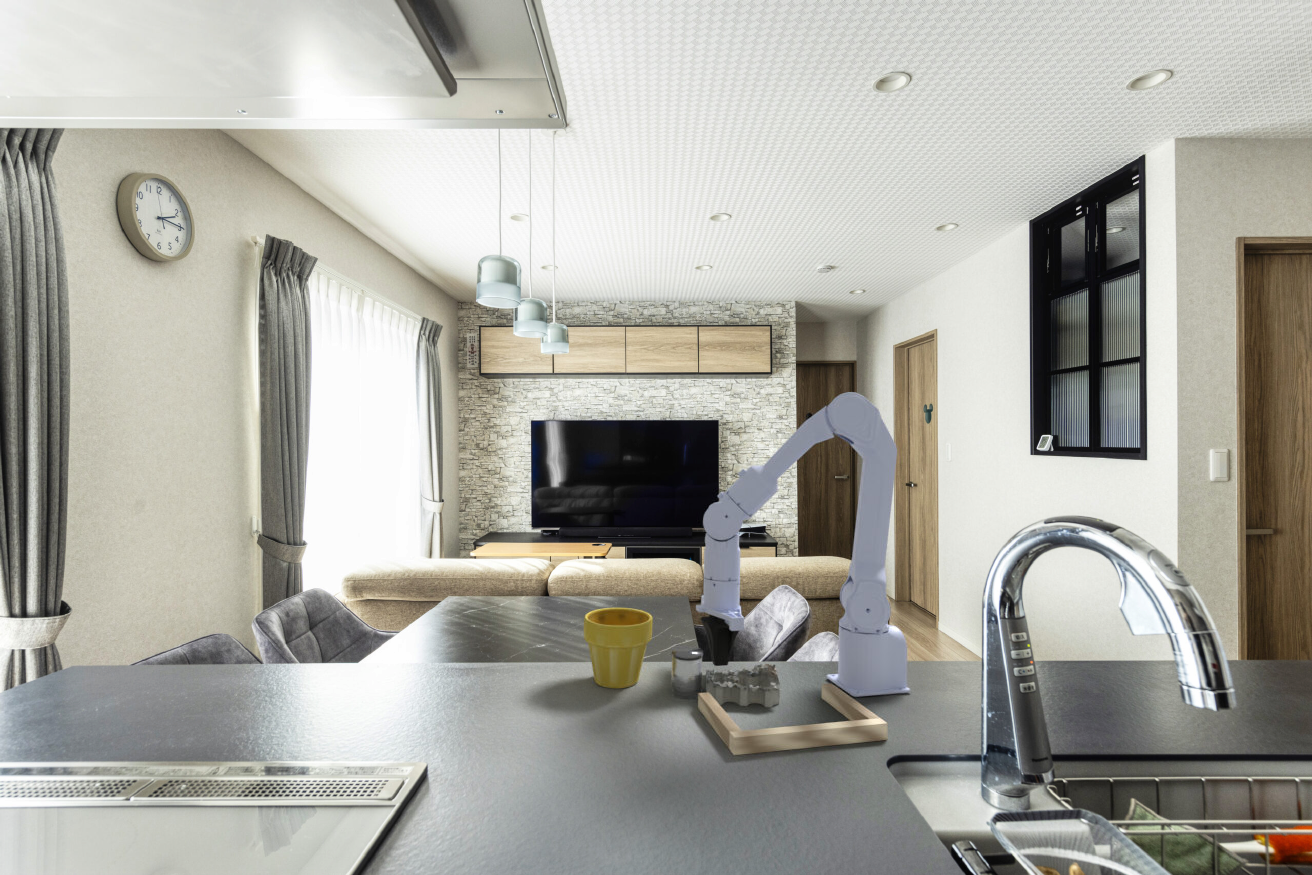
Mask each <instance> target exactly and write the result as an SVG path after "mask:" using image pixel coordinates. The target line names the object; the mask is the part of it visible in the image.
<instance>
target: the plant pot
mask: <svg viewBox="0 0 1312 875" xmlns="http://www.w3.org/2000/svg"><path fill="white" fill-rule="evenodd" d="M653 619H654V618H653V616H652V615H651V614H650V613H649V612H647V611H644V610H641V609H636V608H629V607H606V608H599V609H593V610H591V611H589V612H588V613H586V614H585V615H584V619H583V639H584V640H585V642H586V643H588V649H589V655H590V661H591V666H592V673H593V679H594V682H595V683H596V684H597V685H599V686H601V687H603V688H607V689H626V688H630V687H633V686H635V685H636V684H637V683H638V681H639V678H640V676H641V671H642V666H643V662H644V659H645V654H646V650H647V645H648V643H650V641H651V640H652V636H653Z"/></svg>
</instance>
